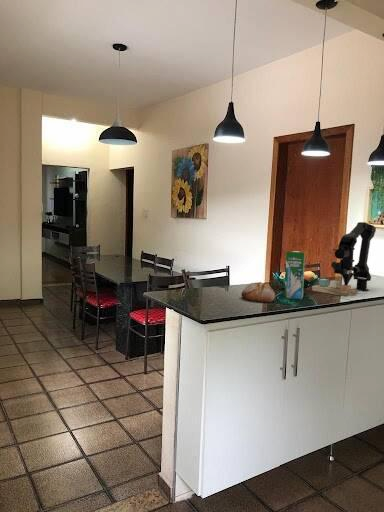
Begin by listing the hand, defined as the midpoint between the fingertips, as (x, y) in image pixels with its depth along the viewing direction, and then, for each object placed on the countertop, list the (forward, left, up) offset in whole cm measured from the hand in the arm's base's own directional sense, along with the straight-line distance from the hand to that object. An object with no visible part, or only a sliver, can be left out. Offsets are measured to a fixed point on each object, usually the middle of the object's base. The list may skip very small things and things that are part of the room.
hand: (346, 285), depth 233 cm
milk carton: (+33, -12, -5) cm, 36 cm away
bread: (+53, -20, -6) cm, 57 cm away
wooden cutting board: (0, -7, -5) cm, 9 cm away
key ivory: (0, -7, -2) cm, 7 cm away
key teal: (0, -14, -2) cm, 14 cm away
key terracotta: (0, 0, -4) cm, 4 cm away
